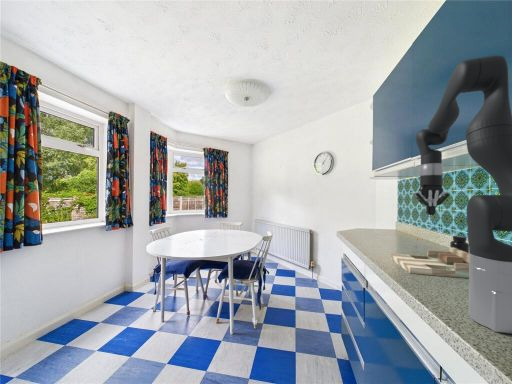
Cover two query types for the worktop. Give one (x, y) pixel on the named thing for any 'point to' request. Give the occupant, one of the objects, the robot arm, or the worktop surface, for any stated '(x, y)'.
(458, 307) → the worktop surface
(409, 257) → the box
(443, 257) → the walnut block
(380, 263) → the worktop surface
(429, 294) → the worktop surface
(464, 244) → the supplement bottle
